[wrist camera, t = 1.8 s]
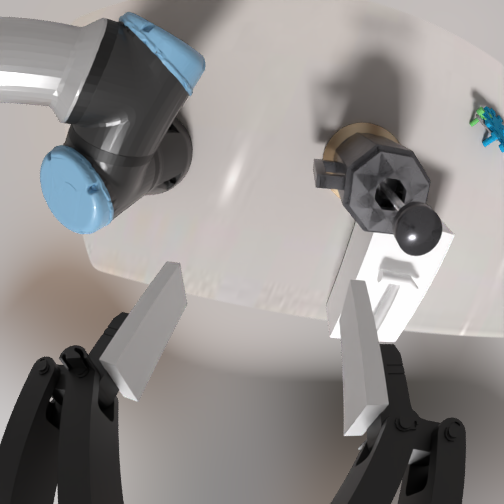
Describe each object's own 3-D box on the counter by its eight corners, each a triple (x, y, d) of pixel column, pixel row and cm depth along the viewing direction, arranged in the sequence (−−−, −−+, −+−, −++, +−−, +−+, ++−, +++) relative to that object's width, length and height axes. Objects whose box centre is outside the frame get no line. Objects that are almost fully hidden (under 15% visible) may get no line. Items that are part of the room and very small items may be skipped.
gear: (517, 135, 27) (521, 169, 25) (498, 147, 33) (499, 181, 31) (481, 91, 27) (484, 118, 25) (463, 107, 33) (461, 136, 31)
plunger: (348, 208, 34) (369, 268, 22) (355, 149, 30) (387, 181, 18) (402, 215, 33) (442, 274, 21) (413, 159, 29) (467, 196, 17)
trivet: (319, 200, 45) (319, 202, 44) (325, 117, 37) (325, 117, 37) (396, 210, 42) (397, 211, 42) (409, 130, 35) (410, 131, 35)
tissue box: (432, 211, 41) (461, 242, 32) (385, 312, 55) (397, 350, 46) (364, 193, 42) (384, 223, 32) (325, 305, 55) (330, 346, 46)
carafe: (310, 192, 43) (312, 230, 32) (314, 126, 38) (320, 137, 26) (391, 201, 41) (419, 241, 30) (400, 138, 36) (439, 157, 24)
